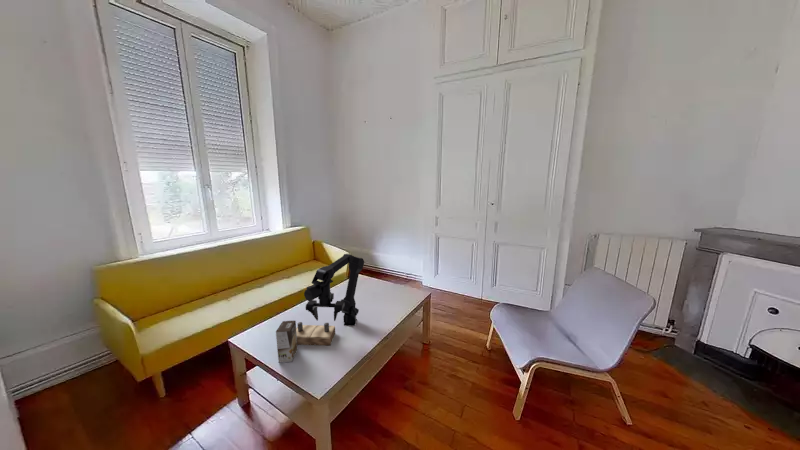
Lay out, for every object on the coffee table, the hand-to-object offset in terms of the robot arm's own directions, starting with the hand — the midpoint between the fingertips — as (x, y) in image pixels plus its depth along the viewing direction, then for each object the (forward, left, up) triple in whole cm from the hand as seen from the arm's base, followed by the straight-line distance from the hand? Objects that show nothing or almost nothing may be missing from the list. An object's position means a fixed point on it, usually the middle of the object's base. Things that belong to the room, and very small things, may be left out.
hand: (326, 320), depth 138 cm
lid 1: (+12, 0, -7) cm, 14 cm away
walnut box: (+7, 0, -11) cm, 13 cm away
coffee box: (+15, +13, -11) cm, 23 cm away
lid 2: (+2, 0, -7) cm, 7 cm away
